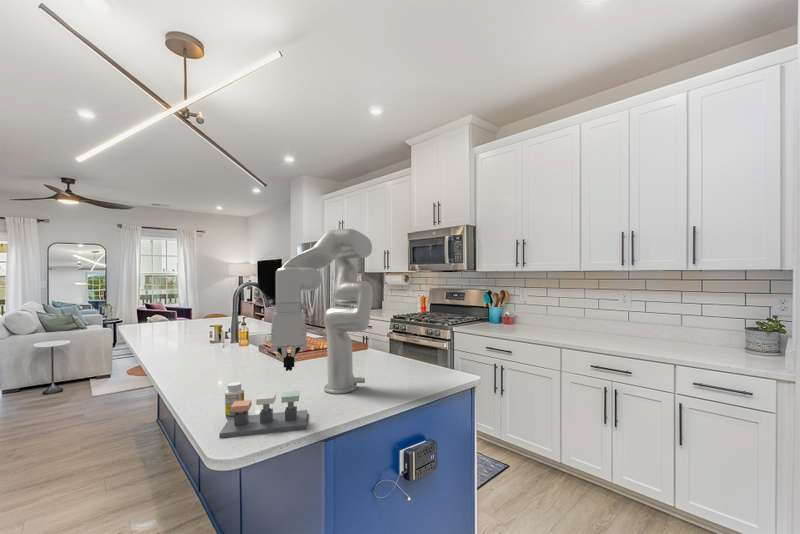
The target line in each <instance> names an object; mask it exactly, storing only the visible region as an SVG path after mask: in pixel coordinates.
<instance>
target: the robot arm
mask: <svg viewBox="0 0 800 534" xmlns="http://www.w3.org/2000/svg"><path fill="white" fill-rule="evenodd" d="M372 251H373V244H372V242H371V240H370V238H369V237H367V236H366V235H365V234H363V233H362V232H360V231H358V230H356V229H353V228H340V229H337V228H336V229H330V230H328V231H326V232H324V234H323V235H322V236H321V237H320V239H318V241H317V242H316V243H315V244H314V245H313V246H312V247H311V248H308V249H306V250H304V251H303V252H301V253H299V254H296V255H295V256H293V257H291V258H290V259H289V260H287V261H286V262H285V263H284V264H283V265H282V266H281V267H280V268H277V269H276V271H275V313H273V314H272V315H273V316H272V319H271V329H270V330H271V331H270V347H269V350H270V351H271V352H274V353H275V352H276V353H279V354H280V355H281V356H282V358H283V368H285V372H287V371H290V372H292V371H293V368H295V356H296V355H297V354H298V353H299V352H300V351H305V350H306V349H308V344H307V336H308V335H307V334H308V333H307V321H306V315H305V312H303V310H305V309H306V310H307V304H306V303H305V304H304V303H303V301H302V292H311V291H312V292H313V291H315V290H317V289H318V288H319V287H320V286H321V284H322V275H321V273H320V272H319V270H322V269H323V268H326V267H328V266H330V265H331V264H332V263H333V262H335V267H336V278H335V281H334V286H333V291H332V292H333V294H332V299H333V301H334V303H335V304H337V305H341V306H332V307H330V308H327V310H325V313H324V316H323V322H324V328H325V332H326V343H327V345H326V346H327V347H326V348H327V349H326V350H327V352H326V353H327V354H326V355H327V384H325V385H324V386H323V391H324V392H326V393H329V394H335V395H336V394H346V393H350V392H354V391H355V390H356V389H357V388H358V385H357V384H365V383H366V379H365V377H361V376H358V377H355V376H354V370H353V369H354V368H353V367H354V366H353V342H352V341H353V340H352V339H351V336H350V335H349V333H362V332H365V331H366V330H367V329H368V328H369V324H370V319H371V314H372V305H373V301H374V299H373V298H374V290H373V286H372V284H371V283H370V282H369V281H365V280H358V276H359V270H358V268H357V266H356V265H355V264H354V262H353V261H352V259H365V258H368V257H369V256H371V254H372ZM342 305H343V306H342ZM287 348H291V351H290V353H288V349H287Z"/></svg>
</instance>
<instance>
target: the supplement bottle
mask: <svg viewBox="0 0 800 534" xmlns="http://www.w3.org/2000/svg"><path fill="white" fill-rule="evenodd" d="M244 400H245V389H244V388H243V387H242V382H241V381H234V382H231V383H228V384H227V389H226V390H225V392H224V401H225V402H224V403H225V405H224V406H225V408H224V410H225V418H226V419H228V420H229V418H230V417H234V415H235V414H236V412H231V406H232V404H233V403H234V401H244Z"/></svg>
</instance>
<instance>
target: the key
mask: <svg viewBox="0 0 800 534" xmlns="http://www.w3.org/2000/svg"><path fill="white" fill-rule="evenodd" d="M252 405H253V403H252V399H244V401H234V403H233V404H232V406H231V412H238V415H240V414H245V411H248V412H249V411H250V408H251V406H252Z"/></svg>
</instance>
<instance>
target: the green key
mask: <svg viewBox="0 0 800 534" xmlns="http://www.w3.org/2000/svg"><path fill="white" fill-rule="evenodd" d="M299 401H300V390H294V391H284V392H282V395H281V404H282V403H287V407H288V410H294V406H295V403H297V402H299ZM294 402H295V403H294Z"/></svg>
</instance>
